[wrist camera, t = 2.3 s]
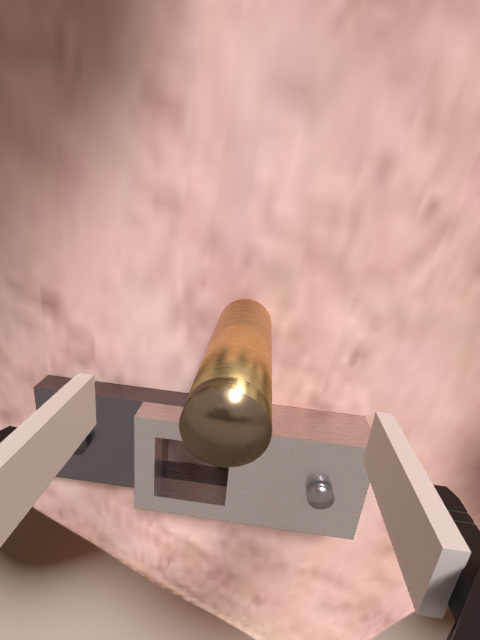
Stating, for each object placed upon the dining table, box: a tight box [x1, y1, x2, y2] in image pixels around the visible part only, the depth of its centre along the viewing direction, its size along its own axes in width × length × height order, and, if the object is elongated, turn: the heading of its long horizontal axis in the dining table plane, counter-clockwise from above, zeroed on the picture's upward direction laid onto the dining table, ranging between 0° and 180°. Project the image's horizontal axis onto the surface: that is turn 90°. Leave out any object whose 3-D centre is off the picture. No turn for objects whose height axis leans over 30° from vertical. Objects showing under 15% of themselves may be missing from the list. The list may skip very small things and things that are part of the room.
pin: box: [179, 299, 272, 467], centre depth 21 cm, size 4×4×13 cm
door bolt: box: [34, 375, 371, 540], centre depth 29 cm, size 9×27×5 cm, turn 84°
